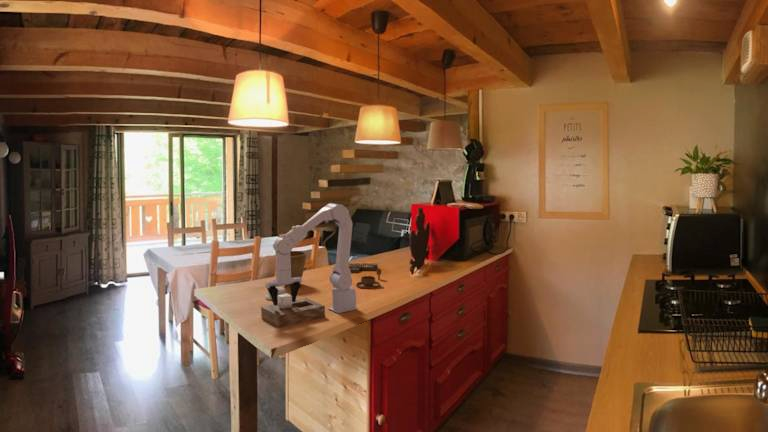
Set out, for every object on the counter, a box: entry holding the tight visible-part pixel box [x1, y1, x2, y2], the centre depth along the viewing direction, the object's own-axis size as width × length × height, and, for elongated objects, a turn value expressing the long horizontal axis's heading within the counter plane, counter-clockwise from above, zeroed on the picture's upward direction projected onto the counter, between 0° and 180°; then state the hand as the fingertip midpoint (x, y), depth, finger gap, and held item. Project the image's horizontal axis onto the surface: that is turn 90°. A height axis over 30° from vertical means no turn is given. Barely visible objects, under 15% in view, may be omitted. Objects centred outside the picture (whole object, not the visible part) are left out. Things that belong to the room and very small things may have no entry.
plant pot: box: [284, 250, 307, 287], centre depth 241 cm, size 15×15×16 cm
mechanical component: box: [265, 286, 288, 301], centre depth 218 cm, size 10×4×10 cm
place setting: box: [355, 268, 385, 291], centre depth 240 cm, size 18×20×6 cm
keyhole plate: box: [260, 297, 326, 328], centre depth 189 cm, size 20×15×4 cm
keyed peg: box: [277, 293, 292, 310], centre depth 186 cm, size 5×5×8 cm
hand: (284, 303), depth 187 cm, fingers open, 7 cm apart
